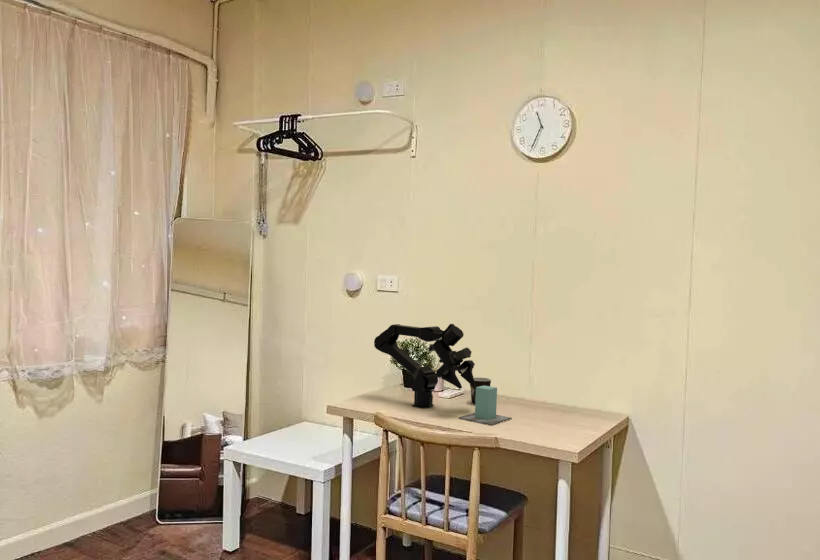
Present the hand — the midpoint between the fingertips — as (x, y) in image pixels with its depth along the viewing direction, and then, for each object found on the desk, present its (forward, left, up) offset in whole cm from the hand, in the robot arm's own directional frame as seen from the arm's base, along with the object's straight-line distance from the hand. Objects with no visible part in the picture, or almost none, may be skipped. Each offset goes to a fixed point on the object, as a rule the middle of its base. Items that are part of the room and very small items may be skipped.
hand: (467, 386), depth 250 cm
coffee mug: (-7, +23, -11) cm, 26 cm away
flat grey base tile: (+8, -1, -11) cm, 13 cm away
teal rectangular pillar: (+8, -1, -10) cm, 13 cm away
